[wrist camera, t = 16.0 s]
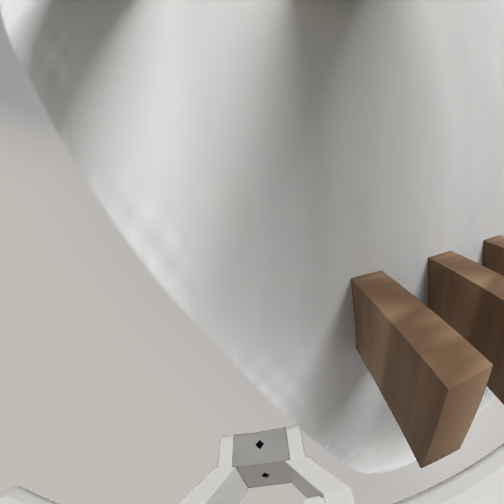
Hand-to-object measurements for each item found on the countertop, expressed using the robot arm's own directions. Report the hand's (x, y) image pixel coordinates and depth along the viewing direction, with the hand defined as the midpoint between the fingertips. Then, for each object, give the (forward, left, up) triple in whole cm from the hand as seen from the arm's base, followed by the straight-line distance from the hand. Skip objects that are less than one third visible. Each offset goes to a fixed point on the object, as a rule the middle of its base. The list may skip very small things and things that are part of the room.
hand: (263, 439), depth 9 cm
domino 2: (-13, 0, -8) cm, 15 cm away
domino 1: (-7, 0, -8) cm, 10 cm away
